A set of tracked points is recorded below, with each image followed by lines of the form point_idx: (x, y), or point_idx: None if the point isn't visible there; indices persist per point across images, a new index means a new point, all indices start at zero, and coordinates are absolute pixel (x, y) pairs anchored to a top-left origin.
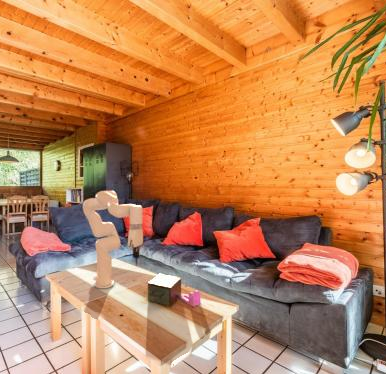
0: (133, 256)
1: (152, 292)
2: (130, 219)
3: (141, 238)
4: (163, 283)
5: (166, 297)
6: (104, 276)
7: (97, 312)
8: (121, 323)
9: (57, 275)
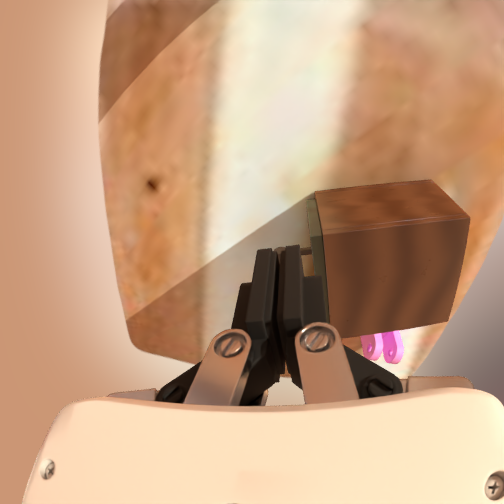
0: (256, 263)
1: (301, 253)
2: None
3: None
4: (357, 300)
5: None
6: None
7: (99, 104)
8: (125, 222)
9: None
